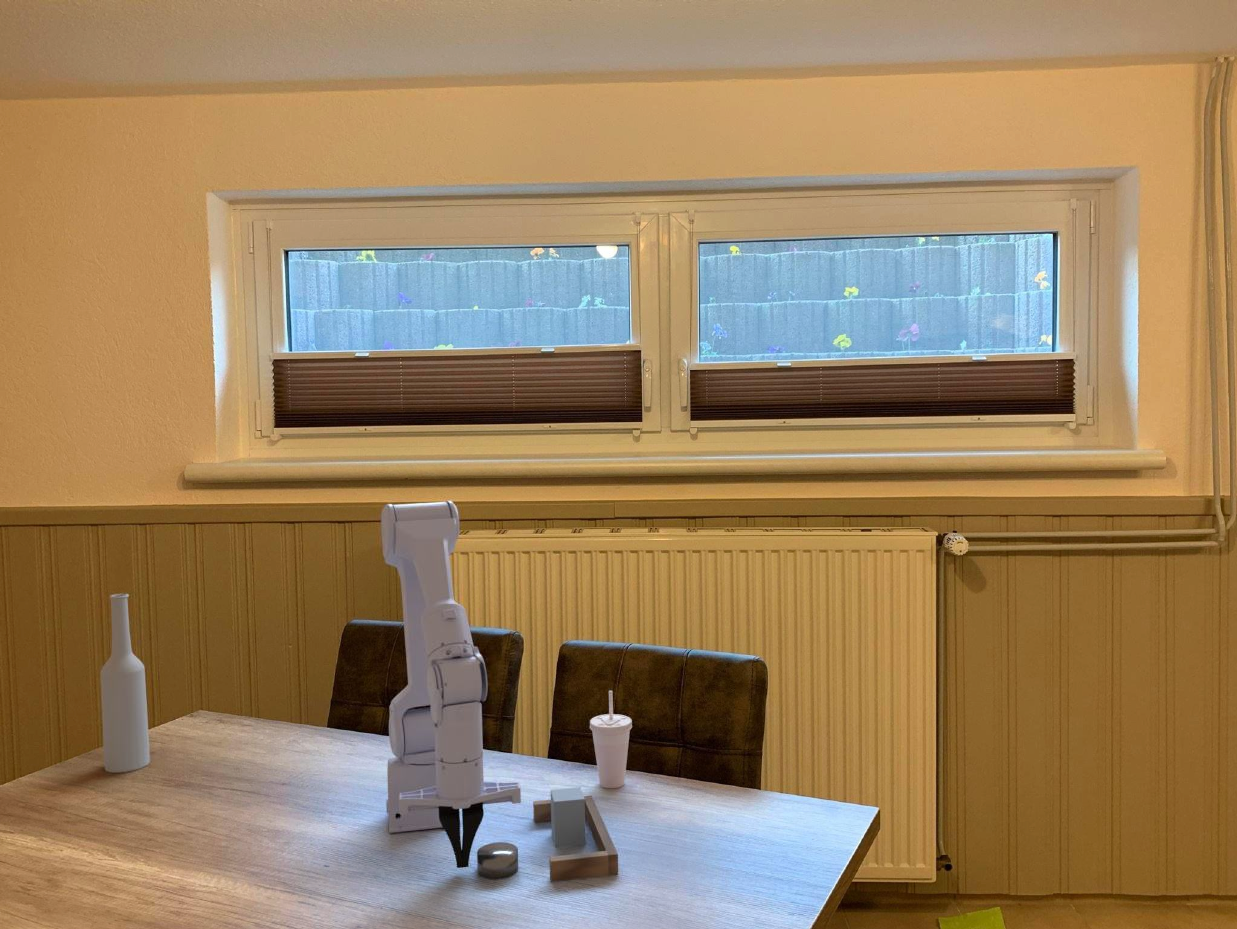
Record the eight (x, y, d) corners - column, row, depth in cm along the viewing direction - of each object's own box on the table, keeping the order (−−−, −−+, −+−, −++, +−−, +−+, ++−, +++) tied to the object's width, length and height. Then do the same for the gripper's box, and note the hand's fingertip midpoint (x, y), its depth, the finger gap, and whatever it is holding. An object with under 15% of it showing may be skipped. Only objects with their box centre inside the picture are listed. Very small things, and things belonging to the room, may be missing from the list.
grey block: (555, 847, 126) (554, 801, 126) (551, 833, 130) (550, 789, 130) (585, 843, 127) (584, 798, 127) (581, 830, 131) (580, 787, 131)
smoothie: (635, 775, 150) (633, 686, 149) (631, 792, 144) (629, 698, 143) (593, 775, 151) (591, 685, 150) (588, 791, 144) (586, 698, 144)
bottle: (150, 755, 163) (142, 589, 161) (149, 768, 157) (140, 596, 155) (106, 762, 160) (97, 593, 159) (103, 775, 154) (93, 600, 153)
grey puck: (478, 882, 118) (478, 862, 117) (476, 864, 122) (475, 844, 122) (520, 878, 119) (519, 858, 118) (516, 859, 123) (515, 840, 123)
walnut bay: (551, 881, 117) (550, 861, 117) (533, 818, 135) (533, 801, 135) (618, 874, 119) (617, 854, 119) (592, 812, 137) (591, 795, 137)
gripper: (397, 772, 113) (401, 886, 114) (522, 761, 116) (524, 872, 117) (398, 751, 120) (402, 859, 121) (516, 741, 123) (519, 846, 124)
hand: (462, 863), depth 120 cm, fingers closed
